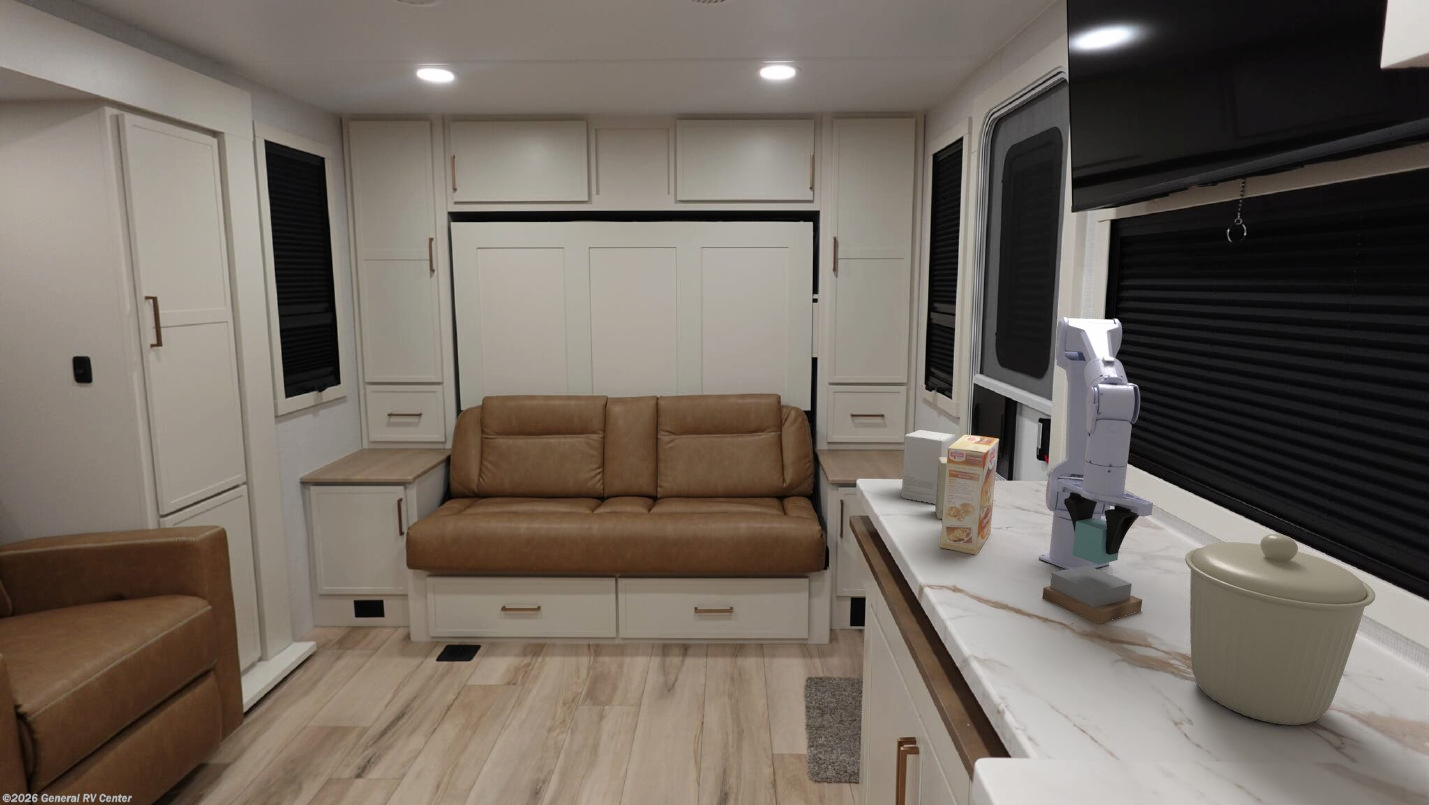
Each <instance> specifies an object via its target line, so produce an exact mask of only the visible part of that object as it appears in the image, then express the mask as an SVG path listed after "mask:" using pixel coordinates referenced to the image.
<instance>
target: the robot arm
mask: <svg viewBox="0 0 1429 805" xmlns="http://www.w3.org/2000/svg"><path fill="white" fill-rule="evenodd" d="M1056 328H1057V329H1056V335H1055V336H1056V337H1055V360H1056V366H1058V367H1060V369H1062V370H1065V375H1066V380H1067V401H1066V402H1067V403H1066V434H1065V437H1066V438H1065V458H1064V459H1063V460H1062V461H1060V462H1059V463H1056V464H1055V465H1054V466H1052V467H1051V468H1050V470H1049V472H1048V474H1047V481H1046V488H1045V506H1046V508H1047V509H1048V510H1049V511H1050V512H1053V514H1052V523H1051V524H1052V526H1051V537H1050V545H1049V552H1048V553H1045V554H1040V555H1038V556H1037V557H1038V559H1040V560H1042V561H1043V562H1047V563H1050V564H1052V565H1054V566H1057V567H1060V568H1062V569H1063V570H1066V569H1071V568H1076V567H1081V566H1086V565H1088V566H1090V567H1093V568H1095V569H1098V568H1101V567H1105V566H1108V565H1110V563H1111V562H1108V563H1104V564H1100V565H1098V564H1095V563H1093V562H1090V561H1087V560H1085V559H1082V558H1079V557H1077V556H1074V555H1073V546H1074V537H1075V527H1076V521H1080V520H1085V519H1090V518H1094V517H1095V518H1098V519H1101V520H1104V521H1106V524H1107V538H1106V554H1109V555H1112V554H1116V553H1118V554H1119V551H1120V548H1121V546H1122V544H1123V542H1124V539H1125V537H1126V535H1127V533H1128V531H1129V530H1130V529H1131V527H1132V526H1133V524H1134V523H1135V522H1136V521H1137V519H1138V518H1139V517H1143V518H1145V517H1148V516H1152V513H1153V507H1154V506H1153V505H1154V502H1153V501H1149V500H1146V499H1144V498H1140V497H1138V496H1135V495H1133V494H1131V493H1129V492H1126V491H1125V487H1126V479H1127V478H1126V477H1127V470H1128V462H1129V461H1128V460H1129V452H1130V445H1131V444H1130V443H1131V435H1132V434H1131V433H1132V428H1133V427H1132V426H1133V425H1132V424H1135V423H1136V422H1137V420H1138V417H1139V414H1140V408H1141V407H1140V406H1141V405H1140V404H1141V394H1140V388H1139V386H1138V385H1137V384H1134V383H1133V382H1132V383H1131V382H1129V381H1128V378H1127V375H1126V372H1125V369H1124V366H1123V364H1122V362H1121V361H1120V360H1119V359H1117V358H1116V357H1117V354H1118V352H1119V350H1120V348H1121V345H1122V344H1121V343H1122V340H1123V339H1122V337H1123V329H1122V328H1123V327H1122V322H1120V320H1119V319H1118V318H1112V319H1100V318H1099V319H1098V318H1096V319H1095V318H1074V317H1073V318H1072V317H1071V318H1070V317H1069V318H1068V317H1067V316H1063V317H1062V318H1061V319H1059V321H1058V324H1057V327H1056ZM1111 507H1114V508H1111ZM1104 517H1105V518H1104Z"/></svg>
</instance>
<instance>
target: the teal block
mask: <svg viewBox="0 0 1429 805" xmlns="http://www.w3.org/2000/svg"><path fill="white" fill-rule="evenodd" d="M1106 538H1107V524H1106V520H1105V521H1104V520H1101V519H1098V518H1095V517H1094V518H1090V519H1085V520H1080V521H1076V527H1075V537H1074V546H1073V555H1074V556H1077V557H1079V558H1082V559H1085V560H1087V561H1090V562H1093V563H1095V564H1098V565H1100V564H1104V563H1108V562H1110V563H1112V562H1115V561H1119V560H1118V559H1119V552H1118V553H1116V554H1112V555H1109V554H1106Z"/></svg>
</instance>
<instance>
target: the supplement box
mask: <svg viewBox="0 0 1429 805" xmlns="http://www.w3.org/2000/svg"><path fill="white" fill-rule="evenodd" d="M956 435H957V434H953V433H946V432H945V433H944V432H940V431H939V432H937V431H930V430H924V429H919V430H915V431H913V432H909V433H907V434H905V435H904V443H903V444H904V450H903V463H902V481H901V482H902V483H901V484H902V485H901V498H902V497H903V498H902V499H906V500H911V499H913V500H912V501H916V500H917V501H916V502H921V501H924V502H923V503H926V502H928V503H927V504H931V503H933V504H932V505H936V492H937V477H938V461H939V457H947V456H948V447H950V446H951V445H952V444H953V443H955V442H956V438H957V436H956Z"/></svg>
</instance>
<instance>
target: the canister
mask: <svg viewBox="0 0 1429 805" xmlns="http://www.w3.org/2000/svg"><path fill="white" fill-rule="evenodd" d="M1184 557H1185V558H1184V560H1185V563H1186V566H1187V567H1188V568H1189V569H1190V587H1189V588H1190V589H1189V591H1190V592H1189V593H1190V596H1189V598H1190V600H1189V601H1190V613H1189V614H1190V617H1189V618H1190V619H1189V620H1190V631H1189V632H1190V660H1191V668H1192V670H1191V671H1192V672H1193V673H1192V674H1193V676H1194V680H1195V682H1196V683H1197V684H1198V686H1199V687H1200V689H1201V691H1203V692H1204V693H1205V694H1206V696H1208V697H1210V698H1211V699H1212V700H1213V701H1215V702H1217V703H1218V704H1219V705H1221V706H1224V707H1225V708H1226V709H1229V710H1231V711H1233V712H1235V713H1238V714H1241V715H1243V716H1244V717H1245V716H1246V717H1250V718H1251V719H1253V720H1254V719H1255V720H1259V721H1261V722H1267V723H1269V724H1270V723H1271V724H1279V725H1289V726H1292V725H1295V726H1300V725H1307V724H1309V723H1313V722H1315V721H1317V720H1319V719H1320V718H1322V717H1323V716H1324V715H1325V714H1326V712H1327V711H1328V710H1329V709H1330V708H1331V705H1332V704H1333V700H1334V699H1335V695H1336V692H1337V690H1338V688H1339V685H1340V683H1341V681H1342V680H1341V679H1342V676H1343V674H1344V672H1345V668H1346V666H1347V662H1348V660H1349V657H1350V654H1351V651H1352V648H1353V645H1354V642H1355V639H1356V635H1357V634H1358V629H1359V627H1360V624H1361V621H1362V616H1363V613H1364V611H1365V608H1366V607H1368V606H1370V605H1371V604H1372V603H1373V602H1374V601H1375V600H1376V593H1375V591H1374V590H1373V588H1372V587H1371V586H1370V585H1368V583H1367V582H1365V581H1363V580H1362V579H1360V578H1359V577H1358V576H1357V575H1355V574H1354V573H1353V572H1351V571H1349V570H1348V569H1346V568H1344V567H1342V566H1340V565H1338V564H1337V563H1336V564H1335V562H1332V561H1329V560H1327V559H1325V558H1324V559H1323V558H1320V557H1318V556H1314V555H1311V554H1308V553H1304V552H1301V551H1299V547H1298V544H1297V542H1296V541H1295V540H1294V539H1293V538H1291V537H1290V536H1287V535H1284V534H1279V533H1271V534H1267V535H1265V536H1263V537H1262V539H1261V540H1260V544H1259V543H1249V542H1229V541H1227V542H1218V543H1212V544H1211V543H1210V544H1207V545H1205V546H1201V547H1198V548H1194V549H1192V550H1190V551H1188V552H1187V553H1186V554H1185V556H1184Z"/></svg>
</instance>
